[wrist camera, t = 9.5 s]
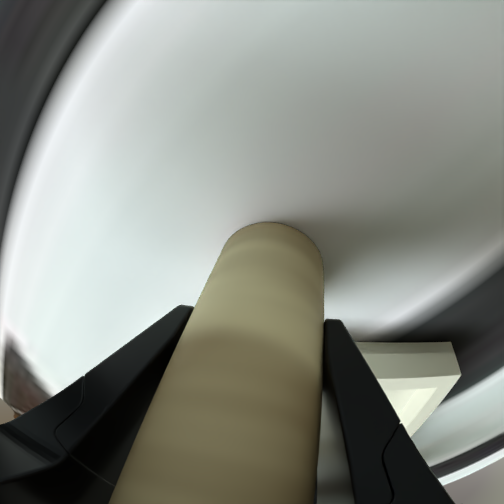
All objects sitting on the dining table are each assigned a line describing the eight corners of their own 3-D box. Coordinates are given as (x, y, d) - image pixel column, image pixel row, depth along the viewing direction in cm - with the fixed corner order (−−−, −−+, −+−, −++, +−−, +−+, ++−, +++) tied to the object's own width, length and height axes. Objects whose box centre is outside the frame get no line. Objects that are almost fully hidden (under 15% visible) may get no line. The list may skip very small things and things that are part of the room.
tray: (377, 447, 16) (378, 469, 15) (214, 435, 18) (208, 456, 17) (450, 341, 10) (461, 374, 9) (180, 325, 12) (164, 356, 11)
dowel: (318, 311, 11) (289, 583, 3) (224, 303, 11) (136, 549, 4) (327, 225, 9) (311, 609, 1) (215, 219, 9) (51, 531, 2)
